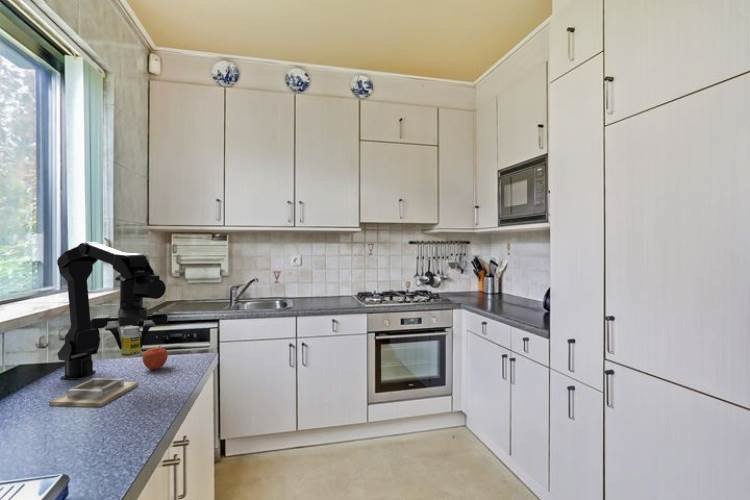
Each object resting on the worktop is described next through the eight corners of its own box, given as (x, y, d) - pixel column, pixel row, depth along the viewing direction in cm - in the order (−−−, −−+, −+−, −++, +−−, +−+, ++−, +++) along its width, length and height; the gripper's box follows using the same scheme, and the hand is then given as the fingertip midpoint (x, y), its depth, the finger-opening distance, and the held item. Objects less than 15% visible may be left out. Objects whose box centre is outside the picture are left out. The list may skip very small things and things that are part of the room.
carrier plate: (49, 405, 94) (49, 394, 94) (93, 384, 108) (93, 374, 108) (100, 406, 93) (100, 395, 93) (138, 385, 107) (138, 375, 107)
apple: (148, 365, 125) (148, 343, 124) (171, 364, 126) (171, 342, 126) (138, 373, 117) (138, 349, 117) (162, 372, 119) (162, 348, 118)
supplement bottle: (131, 358, 103) (131, 330, 103) (117, 357, 104) (117, 328, 104) (144, 353, 108) (144, 326, 108) (131, 352, 109) (131, 325, 109)
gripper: (86, 302, 94) (85, 360, 95) (167, 298, 103) (166, 351, 104) (94, 296, 104) (93, 349, 104) (168, 293, 113) (167, 341, 113)
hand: (131, 348), depth 106 cm, fingers closed on supplement bottle, 5 cm apart
